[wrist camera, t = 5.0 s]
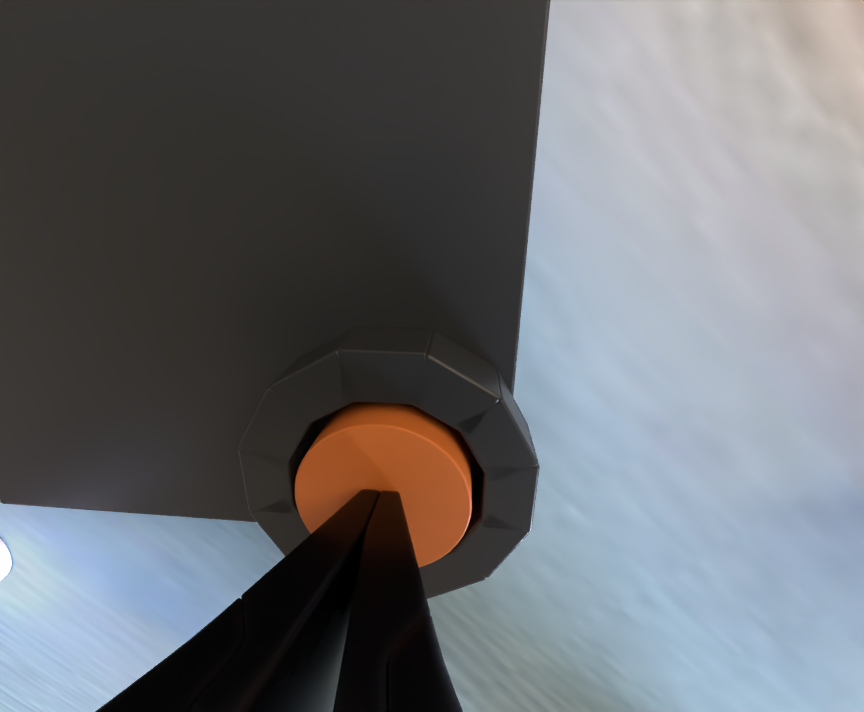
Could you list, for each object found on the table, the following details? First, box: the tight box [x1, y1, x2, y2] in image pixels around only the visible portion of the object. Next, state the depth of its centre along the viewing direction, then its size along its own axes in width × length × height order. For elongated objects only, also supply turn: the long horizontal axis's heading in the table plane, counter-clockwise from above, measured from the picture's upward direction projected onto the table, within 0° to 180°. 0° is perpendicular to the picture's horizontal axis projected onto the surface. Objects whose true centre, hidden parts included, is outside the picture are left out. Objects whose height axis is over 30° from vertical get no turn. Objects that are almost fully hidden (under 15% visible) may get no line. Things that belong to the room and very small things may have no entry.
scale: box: [0, 0, 550, 599], centre depth 10 cm, size 16×14×4 cm
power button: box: [295, 402, 472, 567], centre depth 10 cm, size 4×4×2 cm
